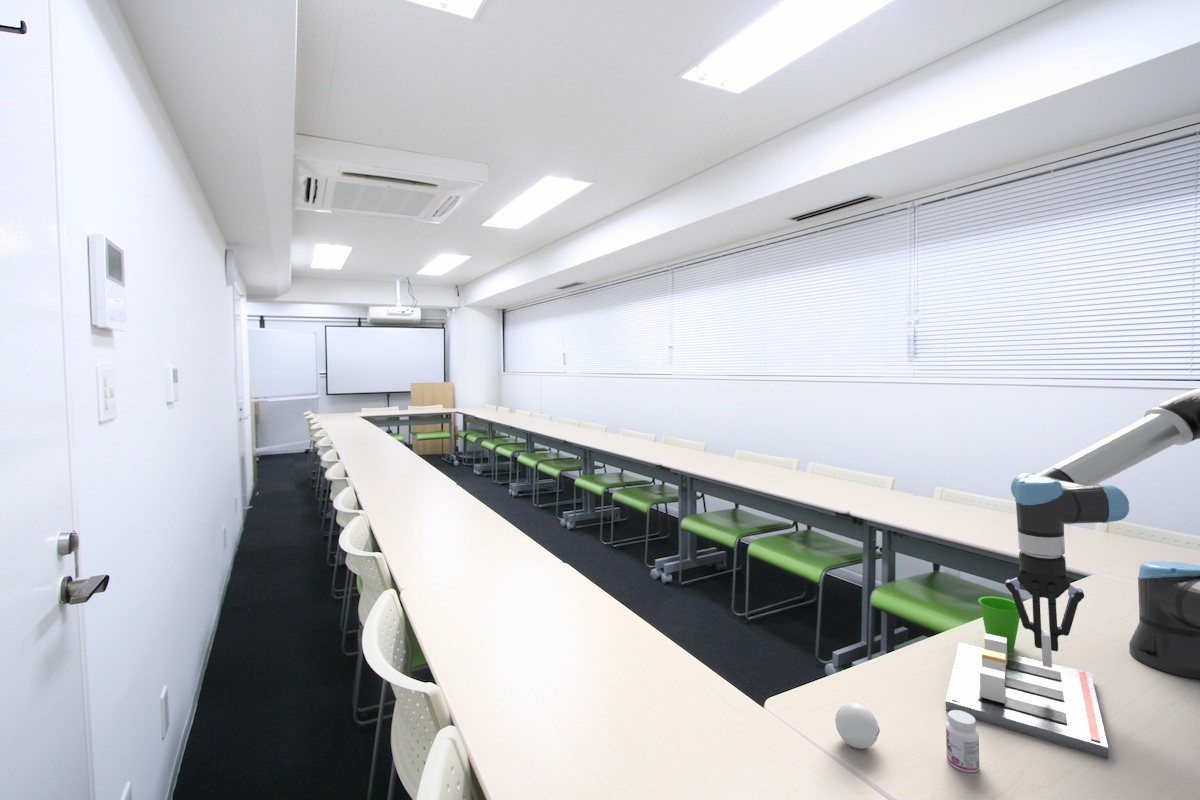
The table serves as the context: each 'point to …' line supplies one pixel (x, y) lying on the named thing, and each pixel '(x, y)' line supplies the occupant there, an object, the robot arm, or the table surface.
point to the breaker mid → (994, 660)
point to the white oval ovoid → (857, 725)
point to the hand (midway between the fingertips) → (1047, 663)
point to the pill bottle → (962, 741)
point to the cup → (1000, 618)
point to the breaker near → (992, 684)
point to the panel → (1032, 700)
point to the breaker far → (996, 644)
